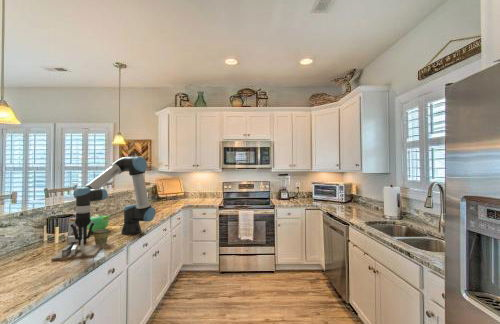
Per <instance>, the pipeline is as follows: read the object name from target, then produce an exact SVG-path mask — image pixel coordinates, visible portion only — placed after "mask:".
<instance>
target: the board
mask: <svg viewBox="0 0 500 324" xmlns="http://www.w3.org/2000/svg"><path fill="white" fill-rule="evenodd" d="M74 244H78V242H71V243H70V244H69V245H68V246H67V245H66V246H65V247H63V248H62V249H61V250H60V251H59V252H57V254H55V255H54V256H53V257H52V258H50V259H51V260H50V261H51V262H57V261H58V262H59V261H70V260H78V259H79V260H81V259H82V260H83V259H91V258H92V257H93V258H95V257H96V256H97V254H98V253H99V252H100V250H101V249H102V247H103V246H102V245H96V244H95V245H85V249H84V250H83V251H81V246H78V250H77V252H76V254H75V255H73V256H71V249H72V247H73V245H74Z"/></svg>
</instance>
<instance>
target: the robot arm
mask: <svg viewBox="0 0 500 324" xmlns="http://www.w3.org/2000/svg"><path fill="white" fill-rule="evenodd" d="M147 168H148V162H147V159H146V158H144V157H143V156H137V155H136V156H124V157H121V158H119V159H117V160H115V161H114V162H112V163H111V164H110V166H109V167H108V168H107V169H105V170H104V171H103V172H102V173H100V174H99V175H98V176H95V178H94V179H92V180H90V182H88V183H87V184H85V185H84V186H83V187H82V186H81V187H77V188H76V189H74V191H73V198H74V199H75V212H76V213H75V218H76V221H75V223H73V224H71V227H72V228H73V232H74V236H75V239H78V240H79V242H78V246H80V247H81V251H83V250H84V249H85V246H87V240H88V239H90V237H91V234H92V232H93V231H92V228H93V225H94V224H95V223H94V222H91V220H90V218H91V202H97V201H98V202H99V201H103V200H104V201H105V200H106V199H107V198H108V191H107V189H105V188H102V187H103V186H105V185H106V184H107V183H108V182H110V181H111V180H112V179H114V177H116V176H118V175H120V174H121V173H122V174H123V173H124V172H128V175H129V176H130V177H131V179H132V183H133V189H134V193H135V199H136V203H137V204H129V205H125V206H124V209H123V226H122V229H121V234H122V235H124V236H127V235H128V236H131V235H137V234H140V233H142V226H141V224H140V222H144V223H145V222H152V221H153V220H154V218H155V216H156V208H155V207H152V203H151V202H150V201H149V196H148V192H147V186H146V180H145V173H146V171H147ZM89 223H90V228H89V229H88V228H87V226H88V225H89ZM76 225H77V226H78V227H79V237H78V233H77V229H76ZM82 227H83V229H84V234H83V239H82Z"/></svg>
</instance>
